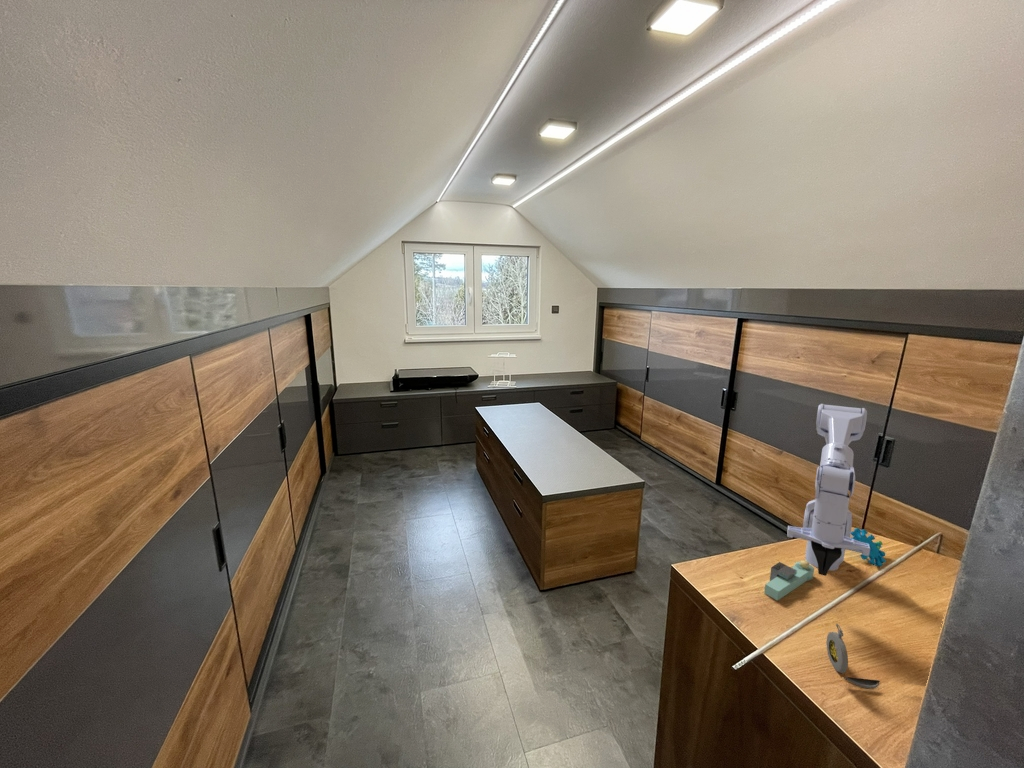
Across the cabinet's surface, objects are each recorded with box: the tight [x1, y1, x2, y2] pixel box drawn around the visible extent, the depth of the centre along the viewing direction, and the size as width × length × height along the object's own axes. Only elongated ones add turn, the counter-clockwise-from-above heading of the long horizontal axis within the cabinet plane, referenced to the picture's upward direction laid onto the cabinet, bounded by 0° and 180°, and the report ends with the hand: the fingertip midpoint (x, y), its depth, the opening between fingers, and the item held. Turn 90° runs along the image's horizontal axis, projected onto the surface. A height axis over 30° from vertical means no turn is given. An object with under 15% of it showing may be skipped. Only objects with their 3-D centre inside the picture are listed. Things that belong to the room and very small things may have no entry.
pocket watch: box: [826, 622, 881, 689], centre depth 77 cm, size 8×8×10 cm
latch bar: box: [764, 559, 815, 601], centre depth 100 cm, size 17×4×4 cm, turn 120°
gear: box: [850, 527, 887, 567], centre depth 112 cm, size 11×6×10 cm
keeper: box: [769, 561, 797, 581], centre depth 101 cm, size 4×4×5 cm
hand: (822, 572), depth 92 cm, fingers closed
